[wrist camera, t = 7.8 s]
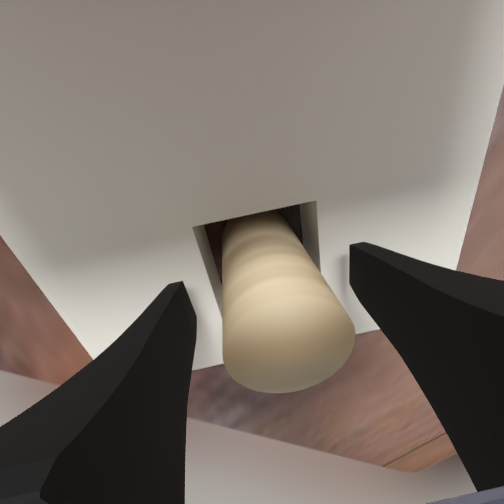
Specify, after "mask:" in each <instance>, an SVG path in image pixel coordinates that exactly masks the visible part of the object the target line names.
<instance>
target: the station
mask: <svg viewBox="0 0 504 504" xmlns="http://www.w3.org/2000/svg"><path fill="white" fill-rule="evenodd" d="M503 85H504V0H0V236H1V237H2V238H3V240H4V241H5V242H6V244H7V245H8V246H9V248H10V249H11V250H12V252H13V253H14V254H15V256H16V257H17V258H18V260H19V261H20V262H21V264H22V265H23V266H24V268H25V269H26V270H27V272H28V273H29V274H30V276H31V277H32V278H33V280H34V281H35V282H36V284H37V285H38V286H39V288H40V289H41V290H42V292H43V293H44V294H45V296H46V297H47V298H48V300H49V301H50V302H51V304H52V305H53V306H54V308H55V309H56V310H57V312H58V313H59V314H60V316H61V317H62V318H63V320H64V321H65V322H66V324H67V325H68V326H69V328H70V329H71V330H72V332H73V333H74V334H75V336H76V337H77V338H78V340H79V341H80V342H81V344H82V345H83V346H84V348H85V349H86V350H87V352H88V353H89V354H90V356H91V357H92V358H93V360H94V359H95V358H96V357H97V356H99V355H100V354H101V353H102V352H103V351H104V350H105V349H107V348H108V347H109V346H110V345H111V344H112V343H113V342H114V341H115V340H116V339H117V338H118V337H119V336H120V335H121V334H122V333H123V332H124V331H125V330H126V329H127V328H128V327H129V326H130V325H131V324H132V323H133V322H134V321H135V320H136V319H137V318H138V317H139V316H140V315H141V314H142V313H143V311H144V310H145V309H146V308H147V307H148V306H149V305H150V304H151V302H152V301H153V300H154V299H155V298H156V297H157V296H158V295H159V293H160V292H161V291H162V290H163V289H164V288H165V287H166V286H167V285H168V284H170V283H174V282H179V281H183V282H184V285H185V288H186V290H187V293H188V295H189V298H190V300H191V303H192V305H193V308H194V310H195V313H196V316H197V339H196V346H195V353H194V360H193V366H192V370H197V369H201V368H206V367H210V366H215V365H219V364H224V362H223V353H222V284H221V281H220V277H219V274H218V271H217V267H216V264H215V261H214V257H213V254H212V251H211V248H210V244H209V241H208V238H207V234H206V231H205V228H204V224H208V223H213V222H218V221H222V220H227V219H232V218H236V217H241V216H245V215H250V214H255V213H259V212H264V211H269V210H273V209H278V208H283V207H287V206H292V205H297V204H299V207H300V217H301V228H302V238H303V247H304V248H305V250H306V252H307V253H308V255H309V256H310V258H311V259H312V261H313V262H314V264H315V265H316V267H317V268H318V270H319V271H320V273H321V274H322V276H323V277H324V279H325V280H326V282H327V284H328V285H329V287H330V288H331V290H332V291H333V293H334V294H335V296H336V297H337V299H338V300H339V302H340V303H341V305H342V306H343V308H344V309H345V311H346V312H347V314H348V315H349V317H350V319H351V320H352V322H353V324H354V328H355V333H356V334H360V333H364V332H369V331H373V330H378V329H380V328H379V327H378V325H377V324H376V323H375V321H374V320H373V319H372V318H371V316H370V315H369V314H368V312H367V311H366V310H365V309H364V307H363V306H362V305H361V303H360V302H359V300H358V298H357V297H356V295H355V293H354V291H353V290H352V288H351V286H350V284H349V245H350V244H355V243H360V242H367V243H371V244H374V245H377V246H380V247H383V248H386V249H389V250H391V251H394V252H397V253H400V254H403V255H406V256H409V257H412V258H415V259H418V260H421V261H424V262H427V263H431V264H434V265H438V266H441V267H444V268H448V269H452V270H456V268H457V264H458V260H459V256H460V252H461V248H462V244H463V240H464V236H465V233H466V229H467V225H468V221H469V217H470V213H471V209H472V205H473V201H474V198H475V194H476V190H477V186H478V182H479V178H480V174H481V170H482V166H483V163H484V159H485V155H486V151H487V147H488V143H489V139H490V135H491V131H492V128H493V124H494V120H495V116H496V112H497V108H498V104H499V100H500V96H501V93H502V89H503Z"/></svg>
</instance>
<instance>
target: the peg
mask: <svg viewBox="0 0 504 504" xmlns="http://www.w3.org/2000/svg"><path fill="white" fill-rule="evenodd" d="M355 339H356V333H355V328H354V324H353V322H352V320H351V319H350V317H349V315H348V314H347V312H346V311H345V309H344V308H343V306H342V305H341V303H340V302H339V300H338V299H337V297H336V296H335V294H334V293H333V291H332V290H331V288H330V287H329V285H328V284H327V282H326V280H325V279H324V277H323V276H322V274H321V273H320V271H319V270H318V268H317V267H316V265H315V264H314V262H313V261H312V259H311V258H310V256H309V255H308V253H307V252H306V250H305V248H304V247H303V245H302V244H301V242H300V241H299V239H298V238H297V236H296V235H295V233H294V232H293V230H292V229H291V227H290V226H289V224H288V223H287V221H286V220H285V218H284V217H283V216H282V215H281V214H280V213H279V212H278V211H276V210H274V209H273V210H269V211H264V212H259V213H255V214H250V215H245V216H241V217H236V218H232V219H229V220H228V222H227V223H226V225H225V227H224V230H223V234H222V353H223V362H224V366H225V368H226V370H227V372H228V373H229V375H230V376H231V377H232V378H233V379H234V380H235V381H236V382H238V383H239V384H240V385H242V386H244V387H246V388H249V389H251V390H254V391H258V392H264V393H289V392H295V391H299V390H303V389H306V388H309V387H312V386H314V385H316V384H319V383H320V382H322V381H324V380H326V379H327V378H329V377H330V376H332V375H333V374H334V373H336V372H337V371H338V370H339V369H340V368H341V367H342V366H343V365H344V364H345V362H346V361H347V360H348V358H349V357H350V355H351V353H352V351H353V348H354V345H355Z"/></svg>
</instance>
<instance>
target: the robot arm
mask: <svg viewBox="0 0 504 504" xmlns="http://www.w3.org/2000/svg"><path fill="white" fill-rule="evenodd" d="M349 284H350V286H351V288H352V290H353V291H354V293H355V295H356V297H357V298H358V300H359V302H360V303H361V305H362V306H363V307H364V309H365V310H366V311H367V312H368V314H369V315H370V316H371V318H372V319H373V320H374V321H375V323H376V324H377V325H378V327H379V328H380V329H381V330H382V332H383V333H384V334H385V336H386V337H387V338H388V339H389V341H390V342H391V343H392V345H393V346H394V347H395V349H396V350H397V351H398V353H399V354H400V356H401V357H402V359H403V360H404V362H405V363H406V365H407V367H408V368H409V370H410V371H411V373H412V375H413V376H414V378H415V379H416V381H417V383H418V384H419V386H420V388H421V389H422V391H423V393H424V394H425V396H426V398H427V399H428V401H429V403H430V404H431V406H432V408H433V410H434V411H435V413H436V415H437V417H438V419H439V420H440V422H441V424H442V426H443V427H444V429H445V431H446V433H447V435H448V436H449V438H450V440H451V442H452V444H453V446H454V447H455V449H456V451H457V453H458V455H459V457H460V459H461V460H462V462H463V464H464V466H465V468H466V470H467V472H468V474H469V476H470V478H471V480H472V482H473V484H474V486H475V488H476V490H477V492H476V493H471V494H467V495H462V496H458V497H453V498H449V499H444V500H440V501H436V502H431V503H427V504H504V281H501V280H496V279H491V278H486V277H481V276H477V275H473V274H468V273H464V272H460V271H456V270H452V269H448V268H444V267H441V266H438V265H434V264H431V263H427V262H424V261H421V260H418V259H415V258H412V257H409V256H406V255H403V254H400V253H397V252H394V251H391V250H389V249H386V248H383V247H380V246H377V245H374V244H371V243H367V242H360V243H355V244H350V245H349ZM196 339H197V316H196V313H195V310H194V308H193V305H192V303H191V300H190V298H189V295H188V293H187V290H186V288H185V285H184V282H183V281H179V282H174V283H170V284H168V285H167V286H166V287H165V288H164V289H163V290H162V291H161V292H160V293H159V295H158V296H157V297H156V298H155V299H154V300H153V301H152V302H151V304H150V305H149V306H148V307H147V308H146V309H145V310H144V311H143V313H142V314H141V315H140V316H139V317H138V318H137V319H136V320H135V321H134V322H133V323H132V324H131V325H130V326H129V327H128V328H127V329H126V330H125V331H124V332H123V333H122V334H121V335H120V336H119V337H118V338H117V339H116V340H115V341H114V342H113V343H112V344H111V345H110V346H109V347H108V348H107V349H105V350H104V351H103V352H102V353H101V354H100V355H99V356H97V357H96V358H95V359H94V360H93V361H92V362H90V363H89V364H88V365H87V366H85V367H84V368H83V369H81V370H80V371H79V372H78V373H76V374H75V375H74V376H73V377H71V378H70V379H69V380H67V381H66V382H65V383H64V384H62V385H61V386H60V387H58V388H57V389H56V390H54V391H53V392H51V393H50V394H49V395H47V396H46V397H44V398H43V399H42V400H40V401H39V402H37V403H36V404H34V405H33V406H32V407H30V408H28V409H27V410H25V411H24V412H23V413H21V414H20V415H18V416H17V417H15V418H13V419H12V420H10V421H9V422H7V423H6V424H4V425H3V426H1V427H0V504H185V497H184V496H185V444H186V421H187V402H188V393H189V386H190V379H191V373H192V366H193V360H194V353H195V346H196Z"/></svg>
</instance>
